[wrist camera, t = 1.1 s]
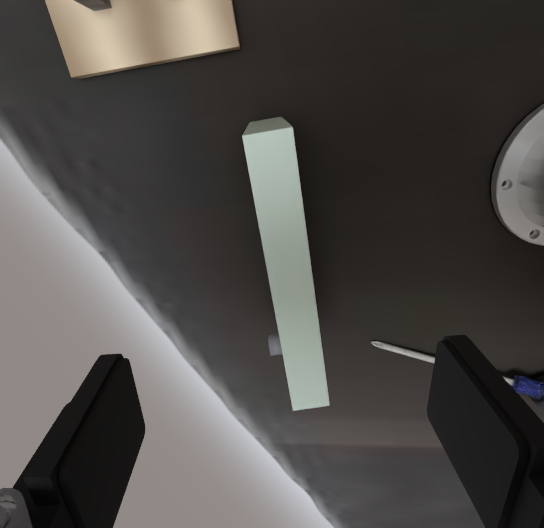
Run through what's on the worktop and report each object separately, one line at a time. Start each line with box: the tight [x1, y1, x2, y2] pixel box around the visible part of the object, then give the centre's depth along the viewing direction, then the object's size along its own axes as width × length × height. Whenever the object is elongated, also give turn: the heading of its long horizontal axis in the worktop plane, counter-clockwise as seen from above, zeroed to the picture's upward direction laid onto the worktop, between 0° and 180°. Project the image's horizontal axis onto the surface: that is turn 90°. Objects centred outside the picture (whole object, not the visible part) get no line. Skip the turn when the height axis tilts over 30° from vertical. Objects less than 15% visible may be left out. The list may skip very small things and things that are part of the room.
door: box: [242, 117, 330, 411], centre depth 27 cm, size 4×18×12 cm, turn 9°
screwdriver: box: [371, 341, 544, 408], centre depth 38 cm, size 26×4×4 cm, turn 74°
